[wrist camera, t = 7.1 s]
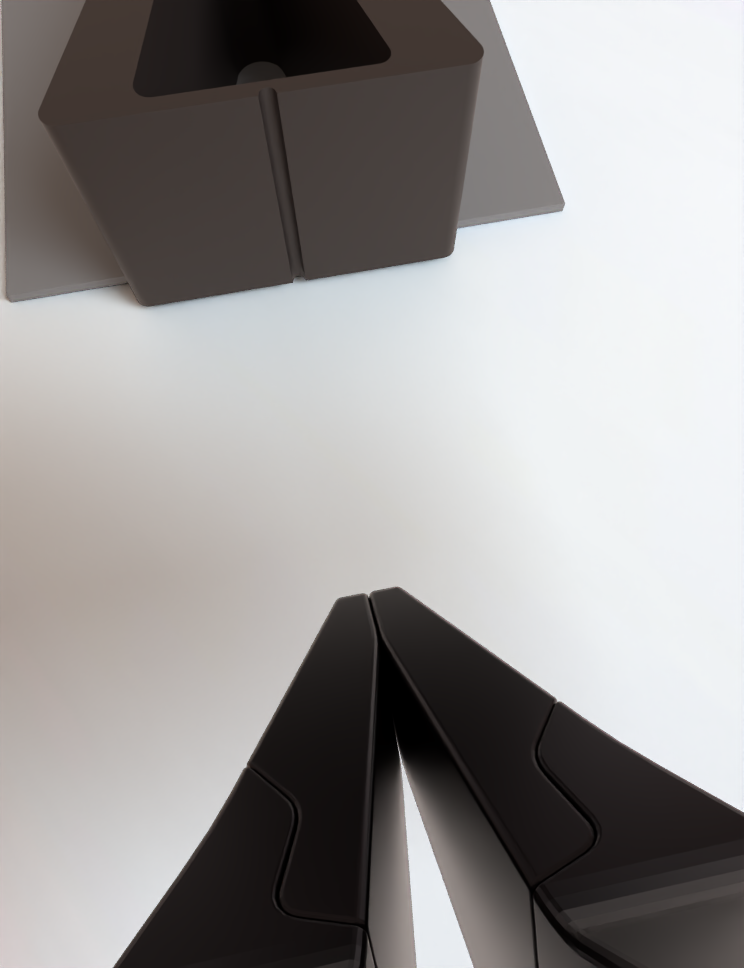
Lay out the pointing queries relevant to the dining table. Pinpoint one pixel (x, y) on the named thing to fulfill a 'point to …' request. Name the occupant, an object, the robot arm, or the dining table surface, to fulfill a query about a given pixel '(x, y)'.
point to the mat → (55, 10)
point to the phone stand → (265, 137)
